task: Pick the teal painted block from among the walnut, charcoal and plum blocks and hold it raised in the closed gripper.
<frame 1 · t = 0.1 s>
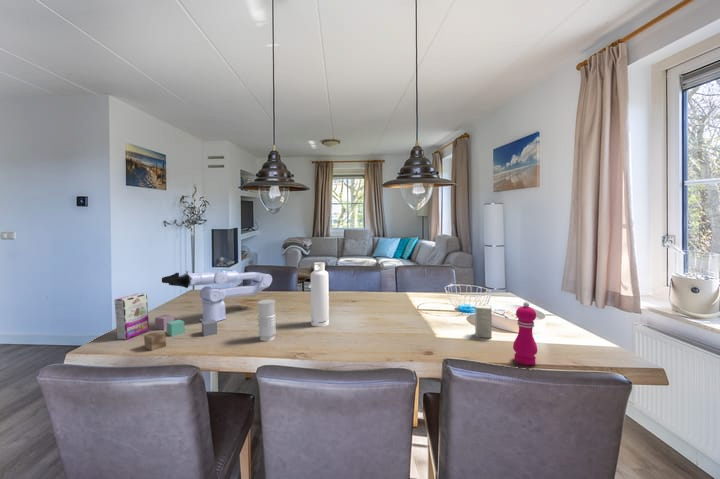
hand: (165, 281, 139), 22 cm above the table, tool horizontal, fingers open, 7 cm apart
pepper mill: (524, 361, 109), on the table
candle: (267, 338, 131), on the table
teal block: (176, 333, 137), on the table
charcoal block: (209, 333, 137), on the table
candy bar box: (133, 335, 136), on the table
bottle: (320, 324, 149), on the table
plum block: (165, 327, 145), on the table
walnut block: (155, 347, 122), on the table
skincare box: (483, 336, 133), on the table
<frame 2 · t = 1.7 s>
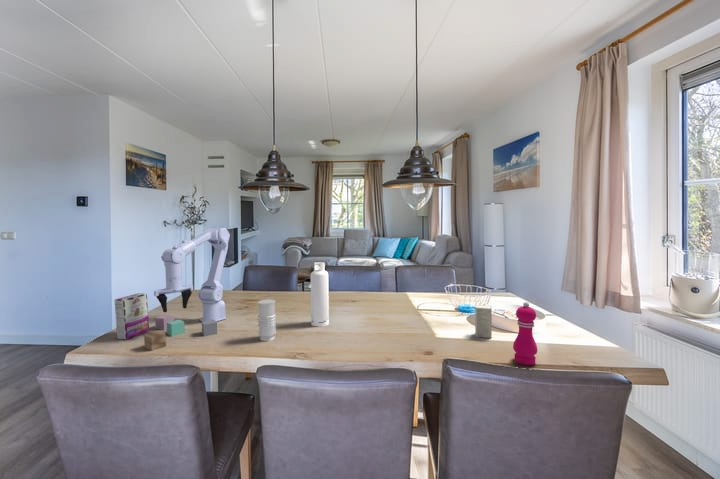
hand: (175, 309, 137), 10 cm above the table, tool pointing down, fingers open, 7 cm apart
nothing on the table moved.
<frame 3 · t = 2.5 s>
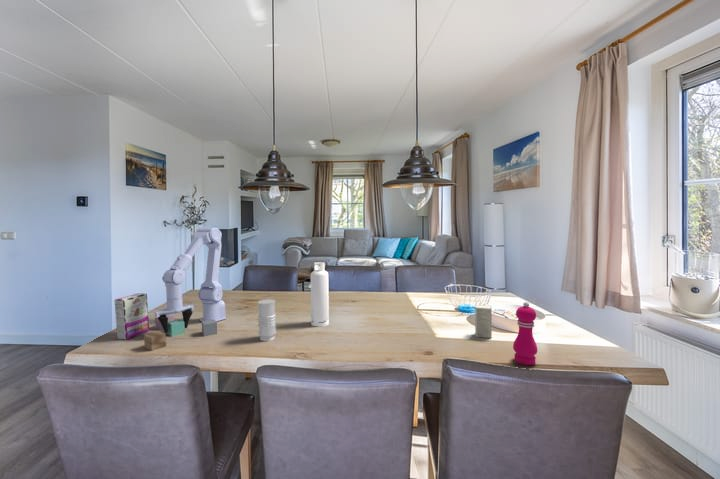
hand: (175, 330, 137), 1 cm above the table, tool pointing down, fingers open, 7 cm apart
nothing on the table moved.
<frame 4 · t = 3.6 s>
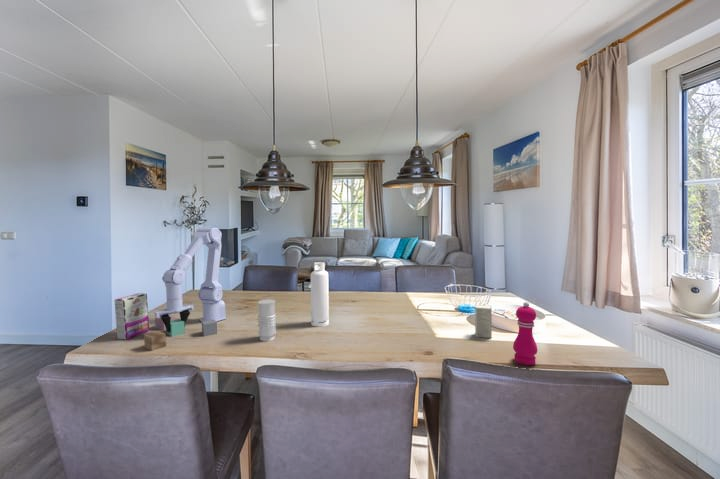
hand: (175, 330, 137), 1 cm above the table, tool pointing down, fingers closed on teal block, 5 cm apart
teal block: (176, 333, 137), on the table, touching gripper
everything else where it was.
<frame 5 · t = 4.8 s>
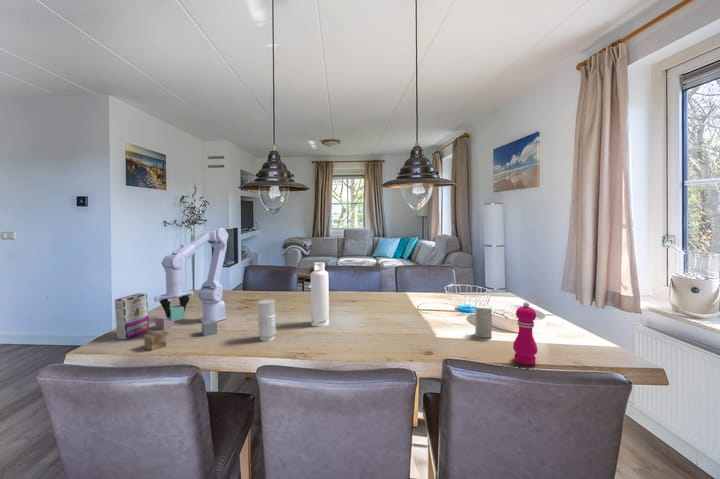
hand: (175, 315, 137), 8 cm above the table, tool pointing down, fingers closed on teal block, 5 cm apart
teal block: (175, 318, 137), point 6 cm above the table, touching gripper
everything else where it was.
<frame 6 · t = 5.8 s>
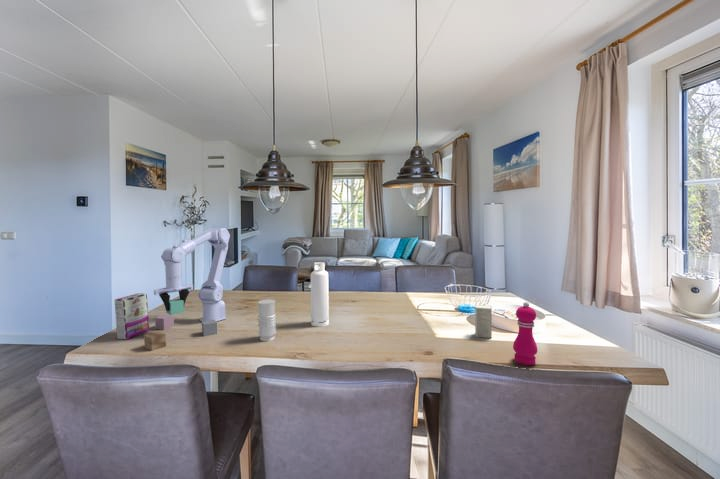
hand: (175, 309, 137), 10 cm above the table, tool pointing down, fingers closed on teal block, 5 cm apart
teal block: (175, 312, 137), point 9 cm above the table, touching gripper
everything else where it was.
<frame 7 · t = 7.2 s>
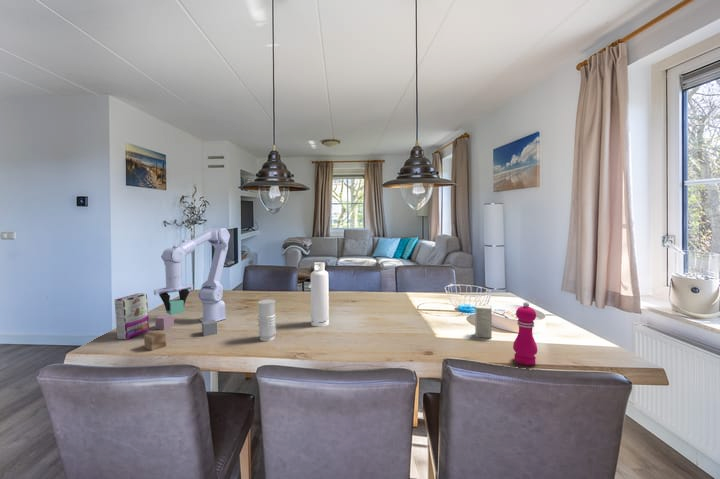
hand: (175, 309, 137), 10 cm above the table, tool pointing down, fingers closed on teal block, 5 cm apart
teal block: (175, 312, 137), point 9 cm above the table, touching gripper
everything else where it was.
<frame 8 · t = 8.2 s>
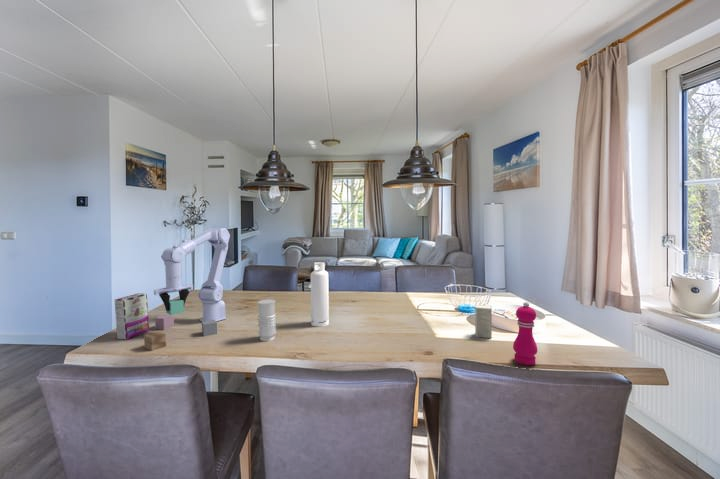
hand: (175, 309, 137), 10 cm above the table, tool pointing down, fingers closed on teal block, 5 cm apart
teal block: (175, 312, 137), point 9 cm above the table, touching gripper
everything else where it was.
at the end: the gripper is holding teal block; teal block point 8.9 cm above the table; walnut block moved 0.1 cm from its start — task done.
